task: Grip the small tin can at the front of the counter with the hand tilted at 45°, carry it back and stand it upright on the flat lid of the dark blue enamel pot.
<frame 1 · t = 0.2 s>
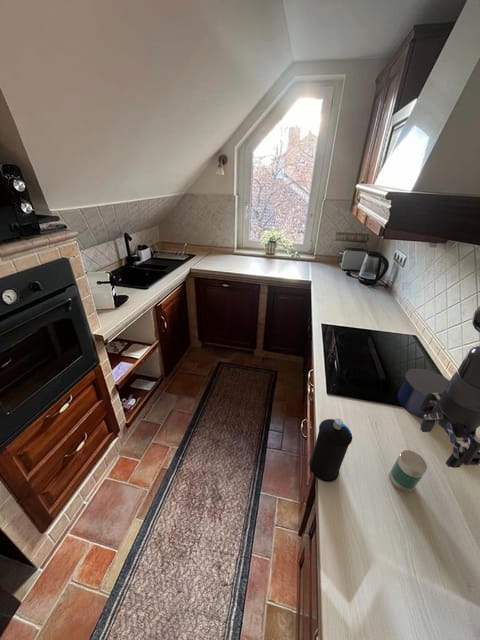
hand: (436, 446, 58), 20 cm above the worktop, tool pointing down, fingers open, 8 cm apart
tin can: (401, 480, 70), on the worktop
pot: (420, 403, 95), on the worktop
aerosol can: (323, 467, 73), on the worktop
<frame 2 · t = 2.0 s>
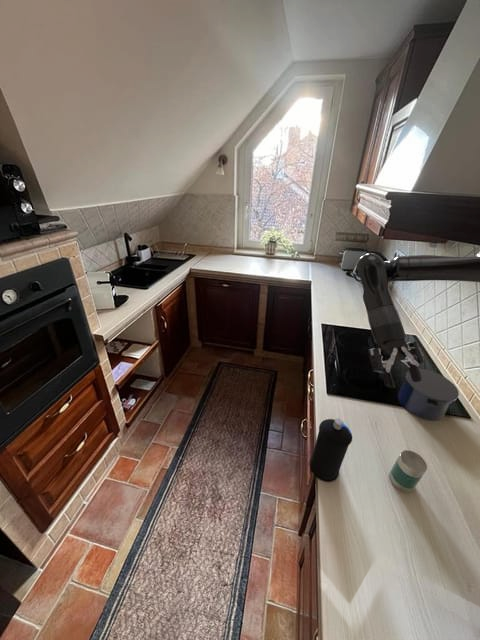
hand: (404, 384, 66), 27 cm above the worktop, tool tilted 45°, fingers open, 8 cm apart
nothing on the worktop moved.
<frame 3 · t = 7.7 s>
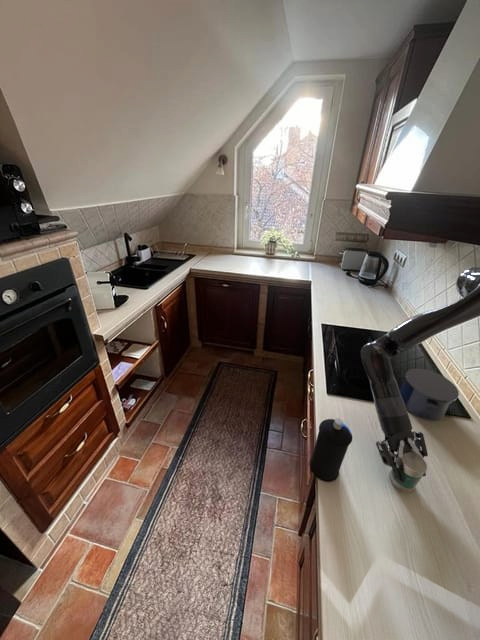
hand: (411, 478, 67), 4 cm above the worktop, tool tilted 45°, fingers closed on tin can, 6 cm apart
tin can: (401, 480, 70), on the worktop, touching gripper
everything else where it was.
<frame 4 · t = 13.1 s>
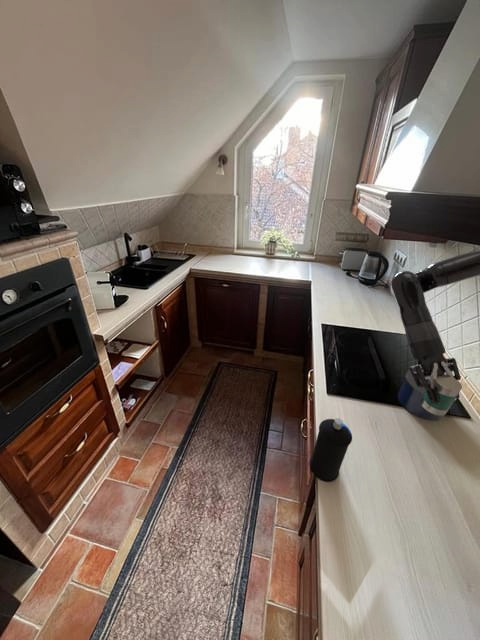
hand: (445, 400, 67), 22 cm above the worktop, tool tilted 45°, fingers closed on tin can, 6 cm apart
tin can: (433, 406, 71), point 18 cm above the worktop, touching gripper
everything else where it was.
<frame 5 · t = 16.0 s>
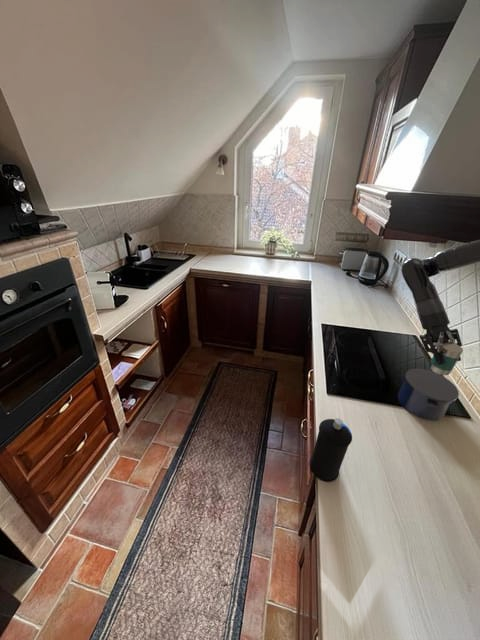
hand: (449, 362, 82), 22 cm above the worktop, tool tilted 45°, fingers closed on tin can, 6 cm apart
tin can: (439, 369, 86), point 17 cm above the worktop, touching gripper
everything else where it was.
when the fingers open (15 cm above the worktop, at t = 18.6 s): tin can stays where it is, resting on pot.
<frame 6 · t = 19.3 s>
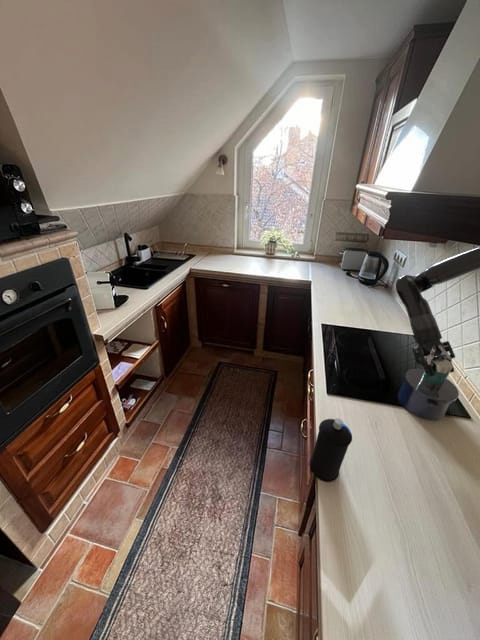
hand: (441, 374, 86), 16 cm above the worktop, tool tilted 45°, fingers open, 8 cm apart
tin can: (430, 383, 90), point 10 cm above the worktop, touching pot
everything else where it was.
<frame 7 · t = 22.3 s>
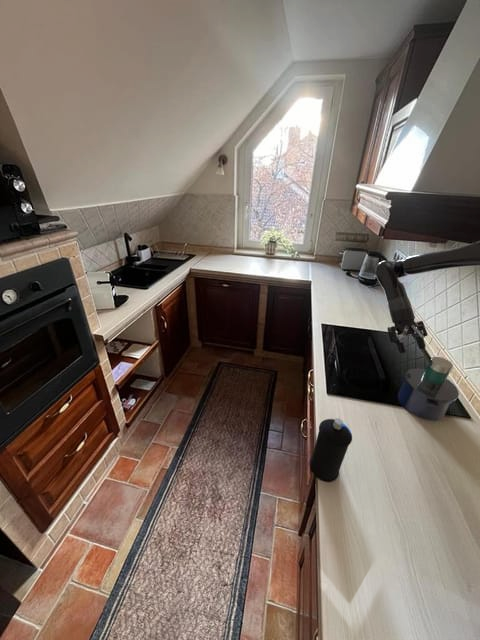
hand: (412, 350, 96), 17 cm above the worktop, tool tilted 40°, fingers open, 8 cm apart
nothing on the worktop moved.
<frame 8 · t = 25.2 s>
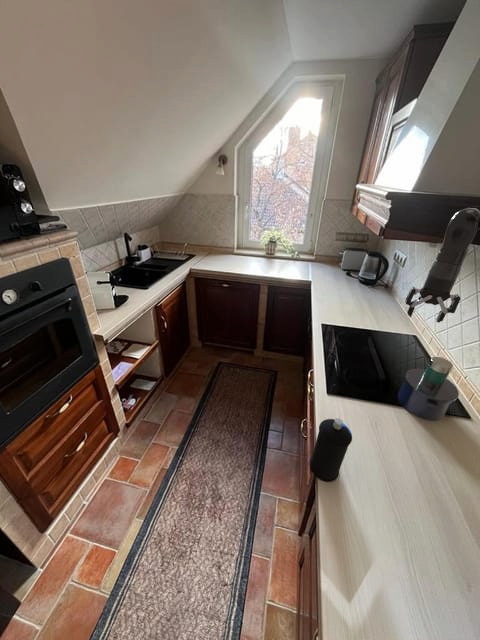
hand: (423, 318, 90), 30 cm above the worktop, tool pointing down, fingers open, 8 cm apart
nothing on the worktop moved.
at the end: tin can 0.1 cm off-centre on the pot, point 10.3 cm above the pot's base; tin can tilted 0°; the gripper is holding nothing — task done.
